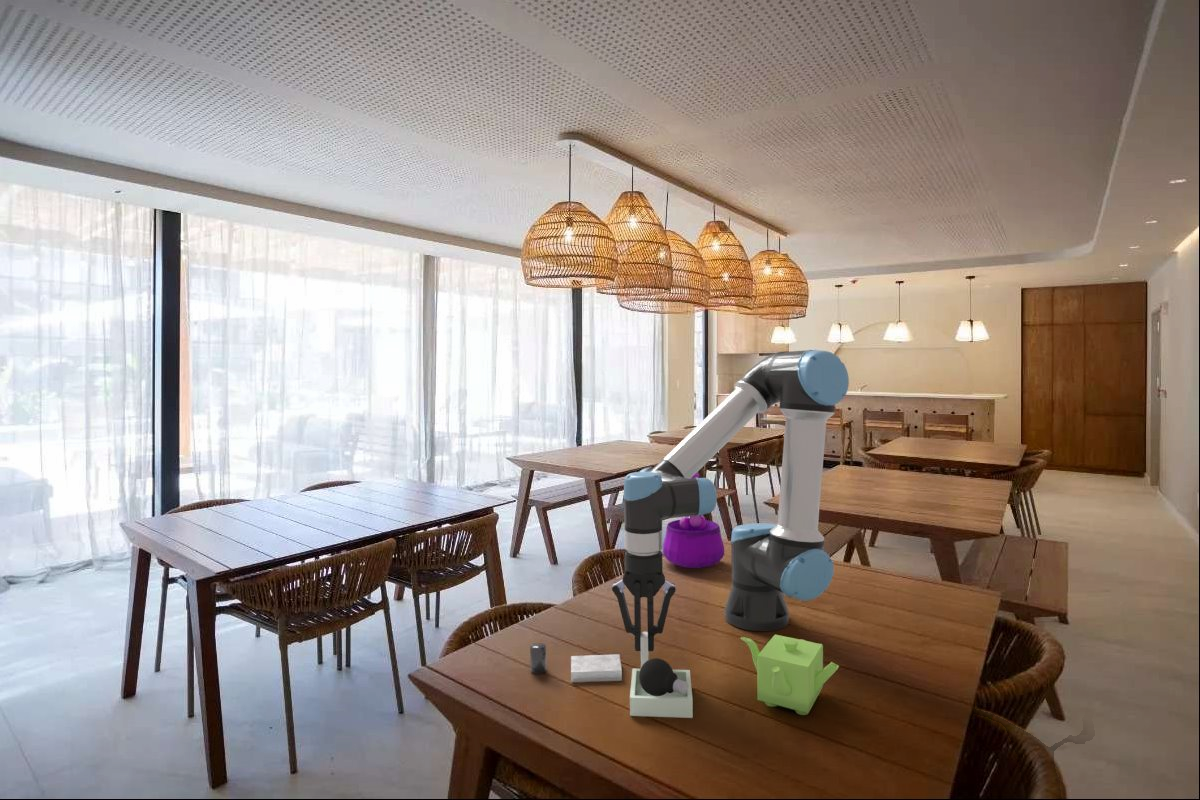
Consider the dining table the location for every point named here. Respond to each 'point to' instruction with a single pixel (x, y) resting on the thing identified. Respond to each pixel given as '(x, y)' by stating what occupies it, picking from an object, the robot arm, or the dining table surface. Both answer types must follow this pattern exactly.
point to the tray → (661, 699)
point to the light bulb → (660, 678)
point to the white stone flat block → (596, 668)
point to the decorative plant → (693, 542)
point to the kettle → (790, 672)
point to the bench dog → (538, 658)
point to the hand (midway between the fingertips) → (644, 665)
